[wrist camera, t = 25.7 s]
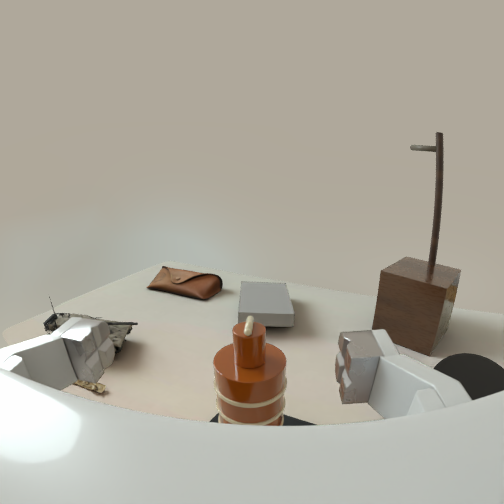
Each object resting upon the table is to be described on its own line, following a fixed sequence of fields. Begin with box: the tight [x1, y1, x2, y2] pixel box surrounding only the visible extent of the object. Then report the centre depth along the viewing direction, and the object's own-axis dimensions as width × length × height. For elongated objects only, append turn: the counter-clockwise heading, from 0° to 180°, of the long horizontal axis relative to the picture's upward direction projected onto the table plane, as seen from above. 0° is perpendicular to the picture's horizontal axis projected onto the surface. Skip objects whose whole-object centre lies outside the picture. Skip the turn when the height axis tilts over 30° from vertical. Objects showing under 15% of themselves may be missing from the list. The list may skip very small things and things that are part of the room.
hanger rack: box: [372, 132, 461, 356], centre depth 43 cm, size 12×12×36 cm
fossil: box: [74, 380, 106, 393], centre depth 35 cm, size 8×2×1 cm, turn 77°
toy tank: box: [43, 309, 138, 354], centre depth 43 cm, size 8×18×10 cm, turn 96°
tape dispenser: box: [434, 353, 504, 400], centre depth 23 cm, size 14×18×8 cm
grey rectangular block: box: [238, 281, 295, 327], centre depth 58 cm, size 10×4×15 cm
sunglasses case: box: [147, 266, 223, 299], centre depth 71 cm, size 18×7×7 cm
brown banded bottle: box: [213, 316, 287, 426], centre depth 25 cm, size 6×6×16 cm
